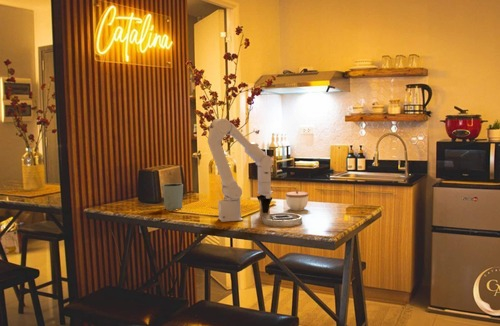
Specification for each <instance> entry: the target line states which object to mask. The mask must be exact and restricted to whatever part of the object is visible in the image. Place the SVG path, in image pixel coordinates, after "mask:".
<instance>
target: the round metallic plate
mask: <svg viewBox="0 0 500 326" xmlns="http://www.w3.org/2000/svg"><path fill="white" fill-rule="evenodd" d="M261 218H262V219H261V220H262V224H264V225H265V226H270V227H280V228H283V227H284V228H285V226H287V227H295V226H299V224H300V225H301V224H302V223H303V216H302V215H300V214H298V213H293V212H274V213H270V214H267V215H264V216H263V217H261Z"/></svg>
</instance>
